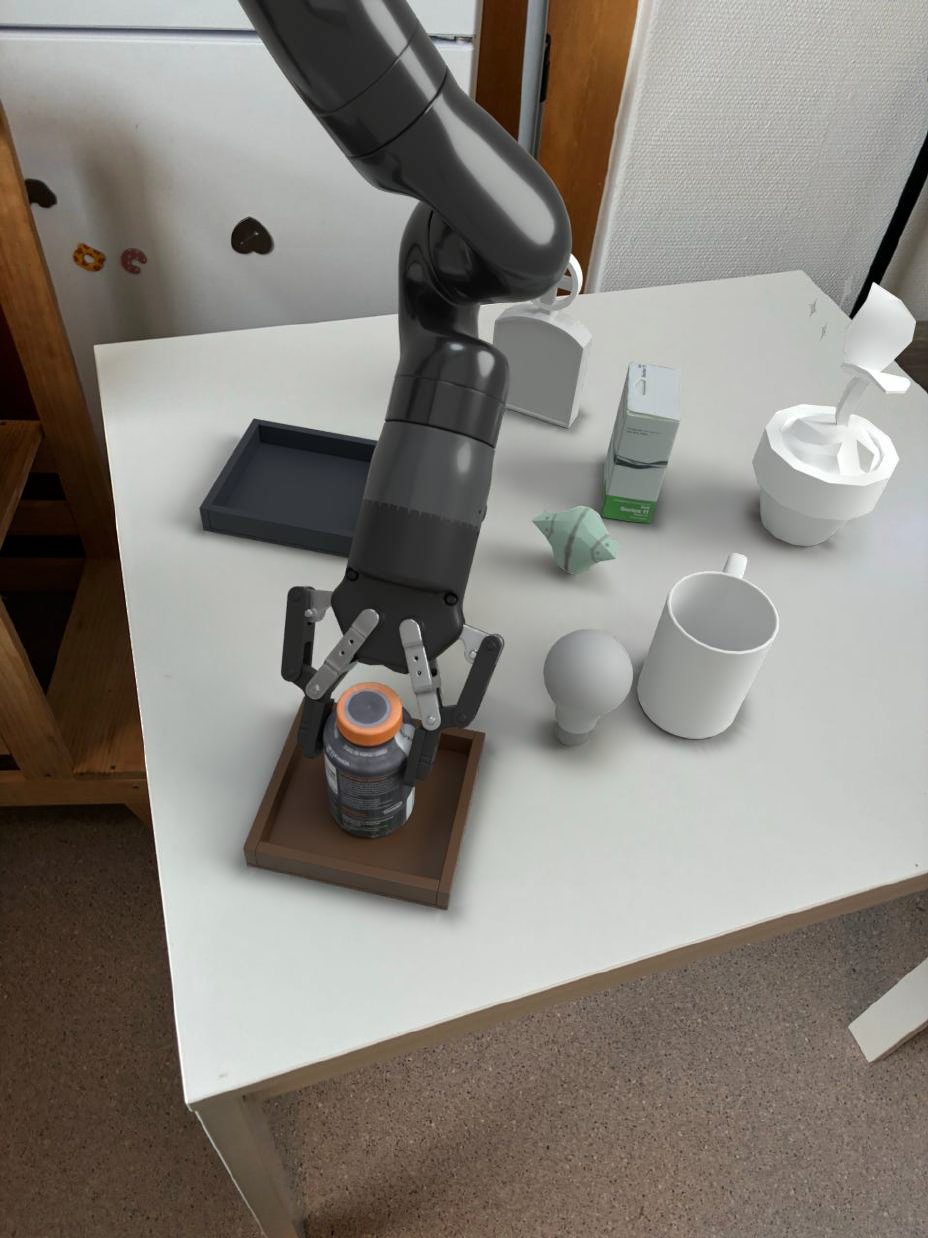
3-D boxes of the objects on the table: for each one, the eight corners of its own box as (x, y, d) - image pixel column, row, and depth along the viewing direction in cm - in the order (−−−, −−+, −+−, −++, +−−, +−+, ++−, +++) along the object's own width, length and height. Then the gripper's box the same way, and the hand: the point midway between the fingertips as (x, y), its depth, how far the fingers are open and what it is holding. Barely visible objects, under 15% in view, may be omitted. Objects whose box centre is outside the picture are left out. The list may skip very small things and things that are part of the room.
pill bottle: (430, 790, 64) (437, 695, 55) (383, 856, 60) (383, 764, 52) (360, 751, 66) (357, 653, 57) (311, 813, 62) (299, 717, 54)
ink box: (651, 525, 85) (682, 421, 76) (599, 517, 85) (624, 412, 76) (653, 468, 90) (682, 365, 82) (604, 460, 91) (628, 357, 82)
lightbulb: (607, 708, 70) (637, 614, 62) (612, 775, 66) (645, 684, 58) (529, 702, 70) (548, 607, 62) (530, 770, 66) (551, 677, 58)
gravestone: (568, 428, 94) (599, 263, 80) (486, 401, 96) (503, 235, 83) (577, 415, 96) (609, 250, 82) (497, 388, 98) (515, 224, 84)
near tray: (246, 865, 60) (242, 848, 58) (306, 714, 68) (304, 695, 66) (447, 910, 58) (449, 894, 57) (483, 750, 67) (485, 732, 65)
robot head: (521, 564, 80) (530, 506, 75) (543, 538, 83) (553, 480, 77) (601, 602, 78) (617, 545, 73) (621, 574, 80) (637, 517, 75)
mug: (724, 755, 68) (768, 669, 60) (624, 718, 70) (654, 629, 62) (754, 644, 76) (797, 555, 68) (663, 613, 77) (695, 522, 69)
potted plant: (738, 474, 91) (831, 229, 72) (856, 503, 89) (982, 260, 70) (724, 556, 83) (824, 304, 64) (853, 590, 81) (995, 341, 62)
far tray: (203, 530, 80) (198, 508, 78) (256, 439, 89) (253, 417, 87) (372, 562, 79) (372, 541, 77) (409, 467, 88) (410, 445, 86)
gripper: (293, 475, 53) (231, 751, 54) (532, 531, 51) (462, 816, 52) (330, 489, 60) (274, 731, 61) (539, 538, 58) (478, 787, 59)
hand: (361, 769), depth 57 cm, fingers closed on pill bottle, 6 cm apart
